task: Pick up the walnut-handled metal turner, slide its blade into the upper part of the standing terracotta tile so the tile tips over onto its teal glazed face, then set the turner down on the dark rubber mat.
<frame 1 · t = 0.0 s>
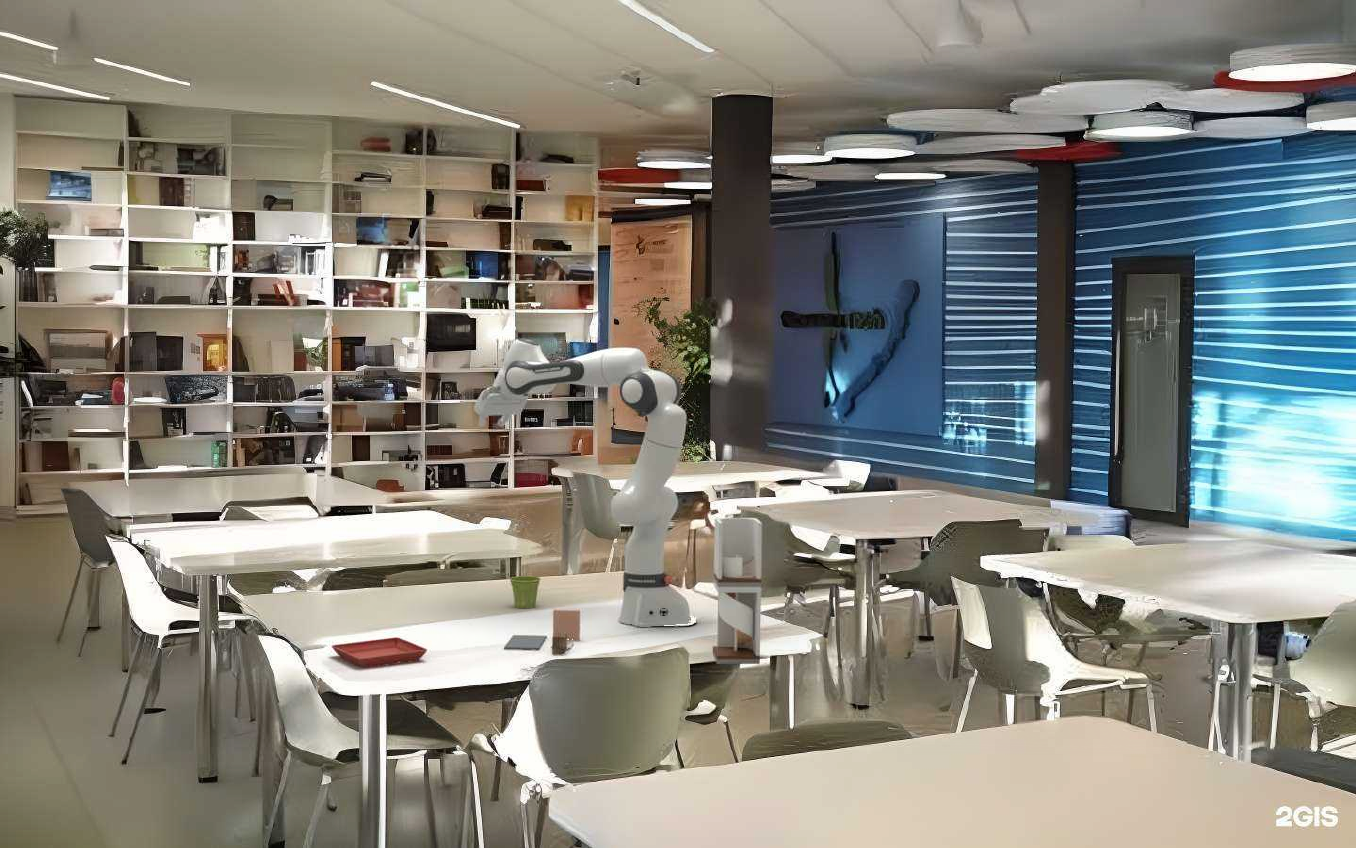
hand: (490, 425, 421), 54 cm above the table, tool tilted 30°, fingers open, 8 cm apart
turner: (559, 652, 352), on the table
mat: (525, 643, 361), on the table
tile: (566, 639, 368), on the table
plant saucer: (379, 661, 341), on the table
display case: (735, 659, 346), on the table
plant pot: (525, 607, 416), on the table
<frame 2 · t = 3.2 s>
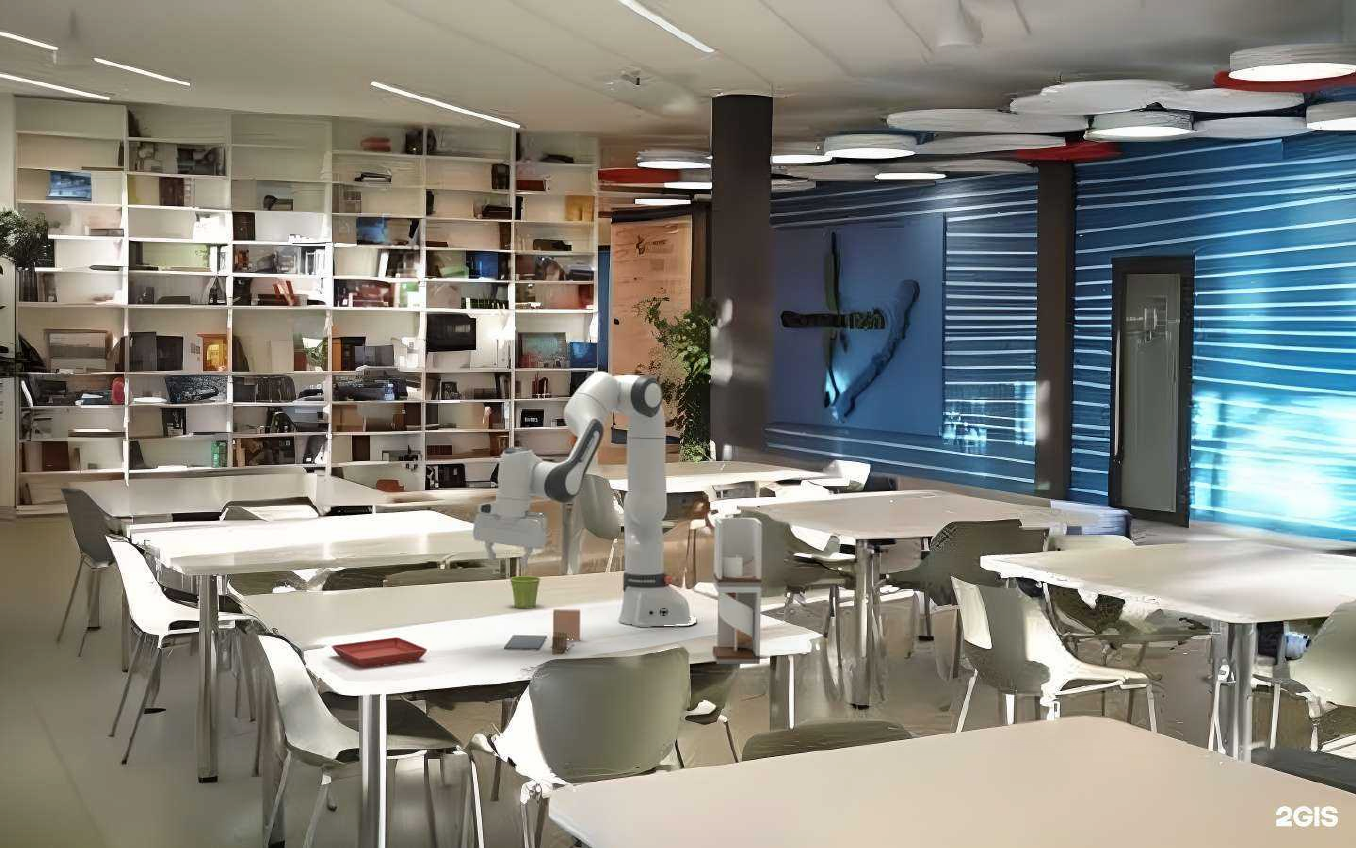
hand: (507, 562, 357), 22 cm above the table, tool pointing down, fingers open, 8 cm apart
nothing on the table moved.
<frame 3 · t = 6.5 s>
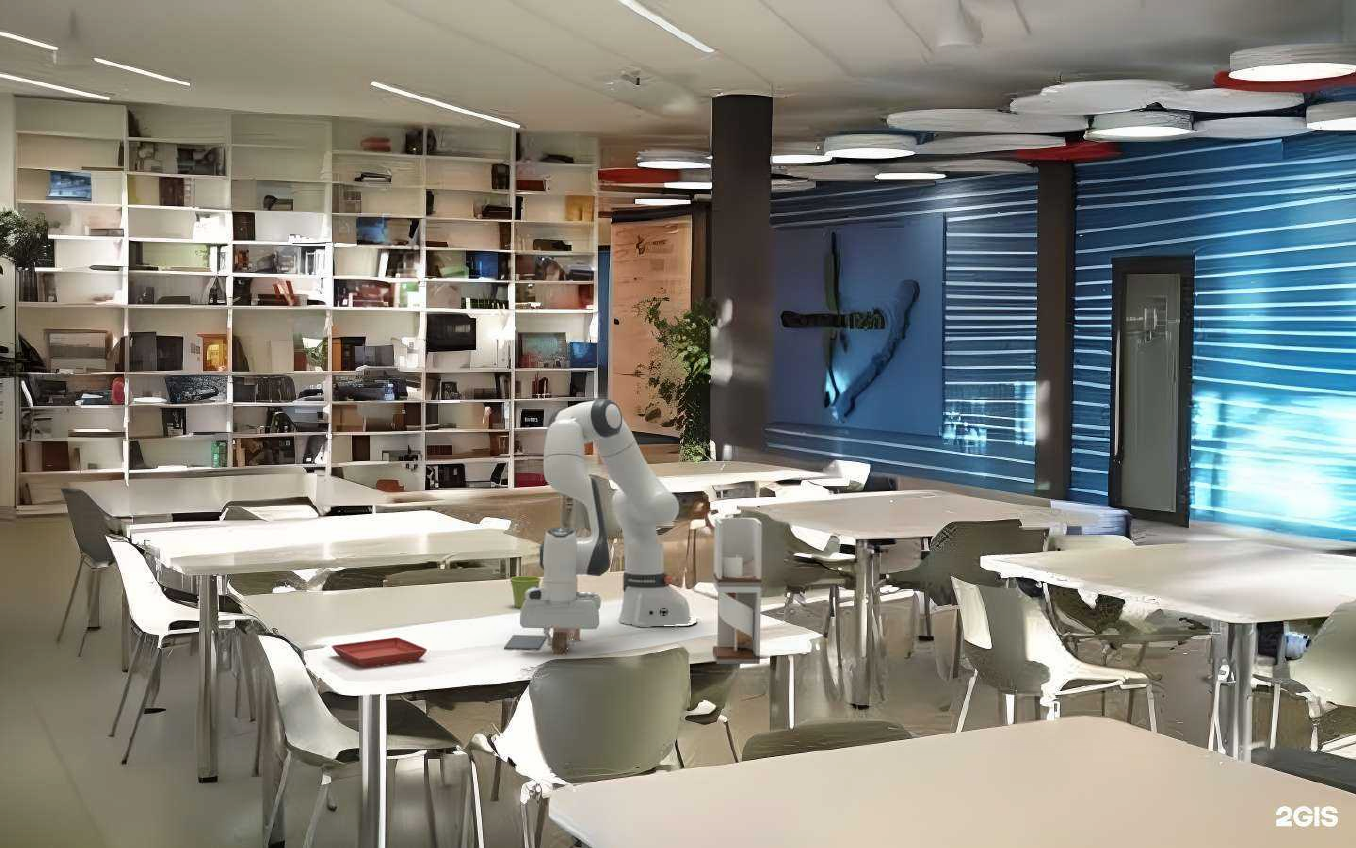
hand: (559, 645, 352), 2 cm above the table, tool pointing down, fingers closed on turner, 3 cm apart
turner: (559, 652, 352), on the table, touching gripper
everything else where it was.
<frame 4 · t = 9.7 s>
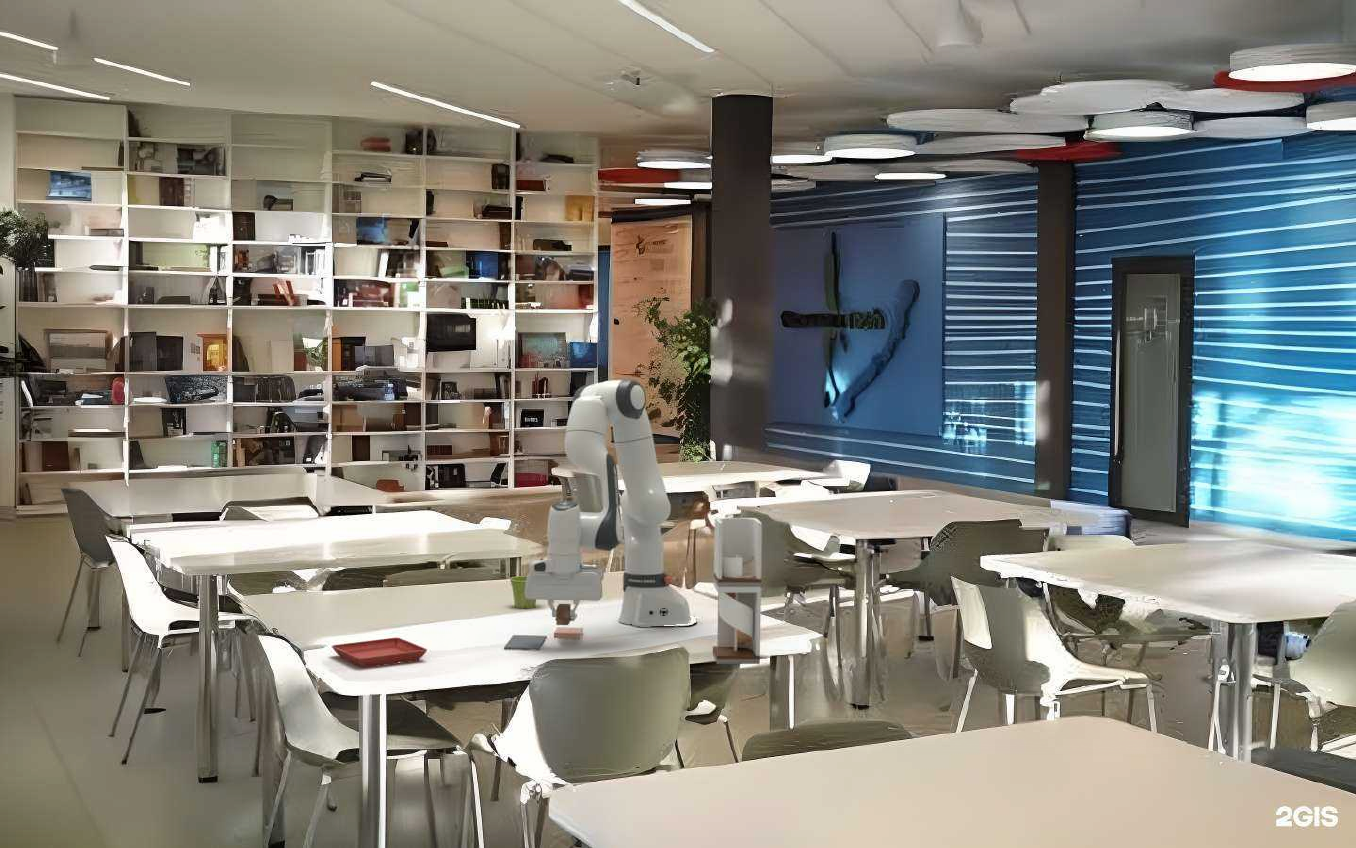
hand: (563, 616, 359), 8 cm above the table, tool pointing down, fingers closed on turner, 3 cm apart
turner: (563, 623, 359), point 6 cm above the table, touching gripper
tile: (566, 636, 369), point 1 cm above the table, tilted 90°
everything else where it was.
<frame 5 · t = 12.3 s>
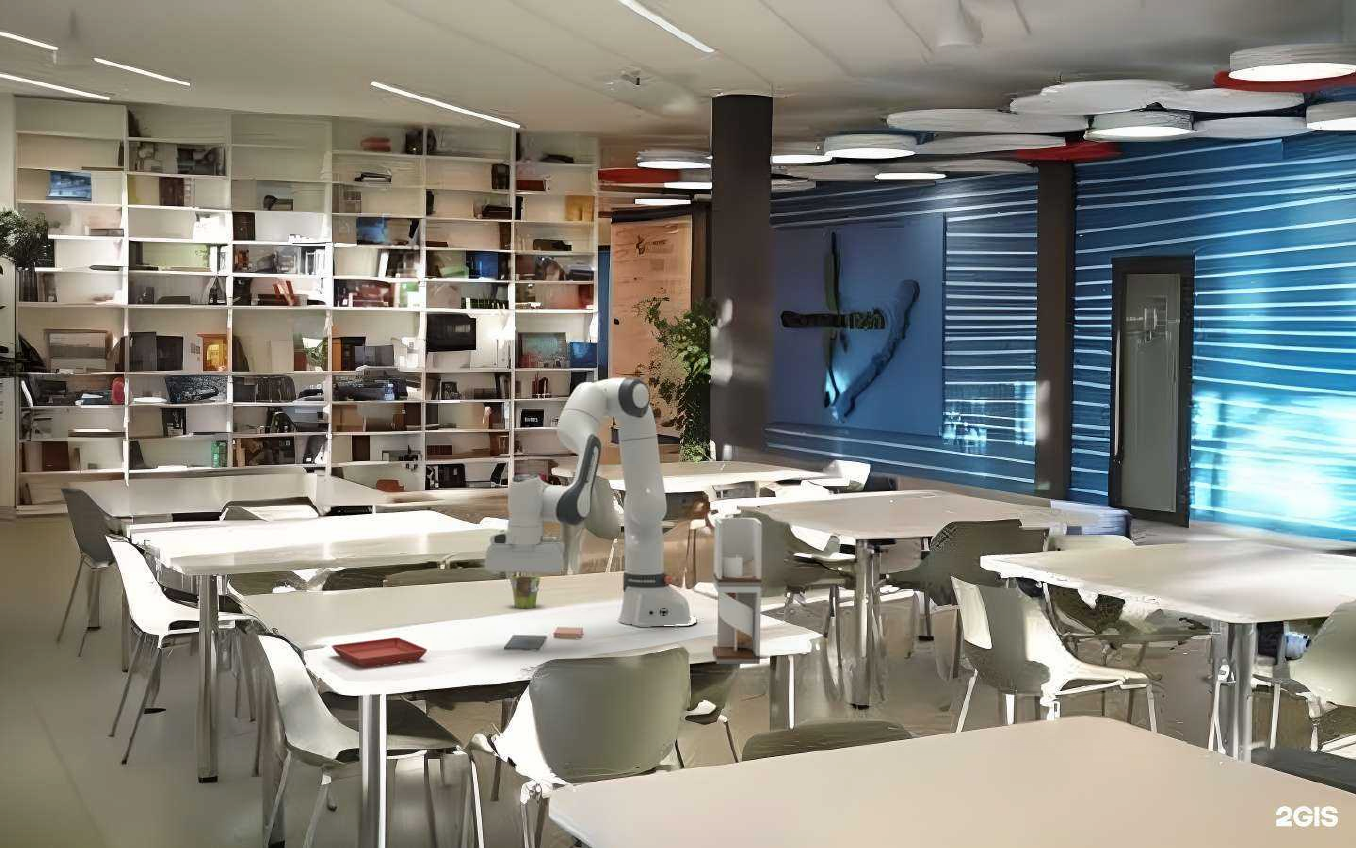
hand: (523, 589, 357), 15 cm above the table, tool pointing down, fingers closed on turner, 3 cm apart
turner: (523, 595, 357), point 13 cm above the table, touching gripper
everything else where it was.
when the fingers open (4 cm above the table, at t = 14.4 s): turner drops 2 cm, resting on mat.
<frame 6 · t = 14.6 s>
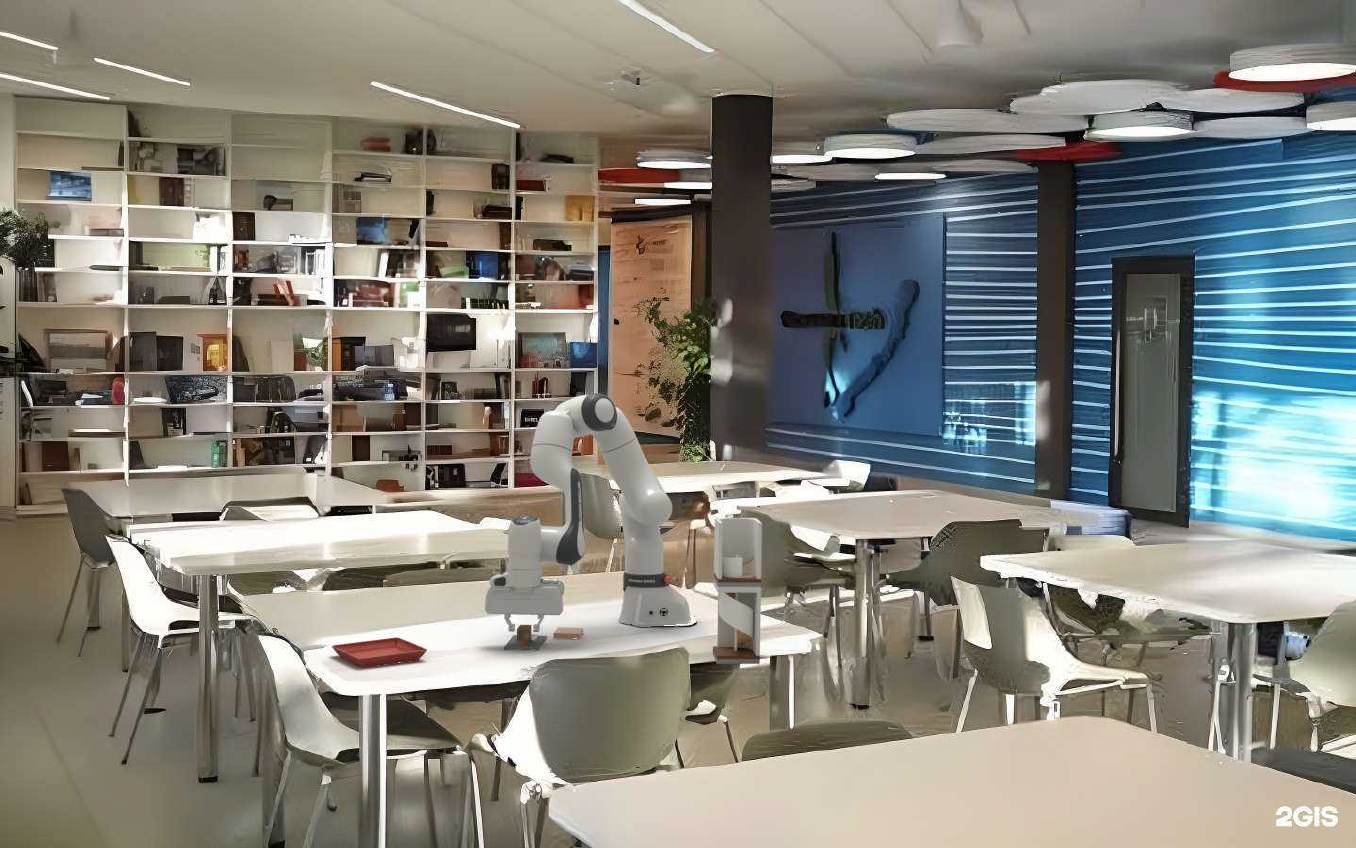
hand: (524, 631, 358), 4 cm above the table, tool pointing down, fingers open, 5 cm apart
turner: (524, 644, 358), point 1 cm above the table, touching mat
everything else where it was.
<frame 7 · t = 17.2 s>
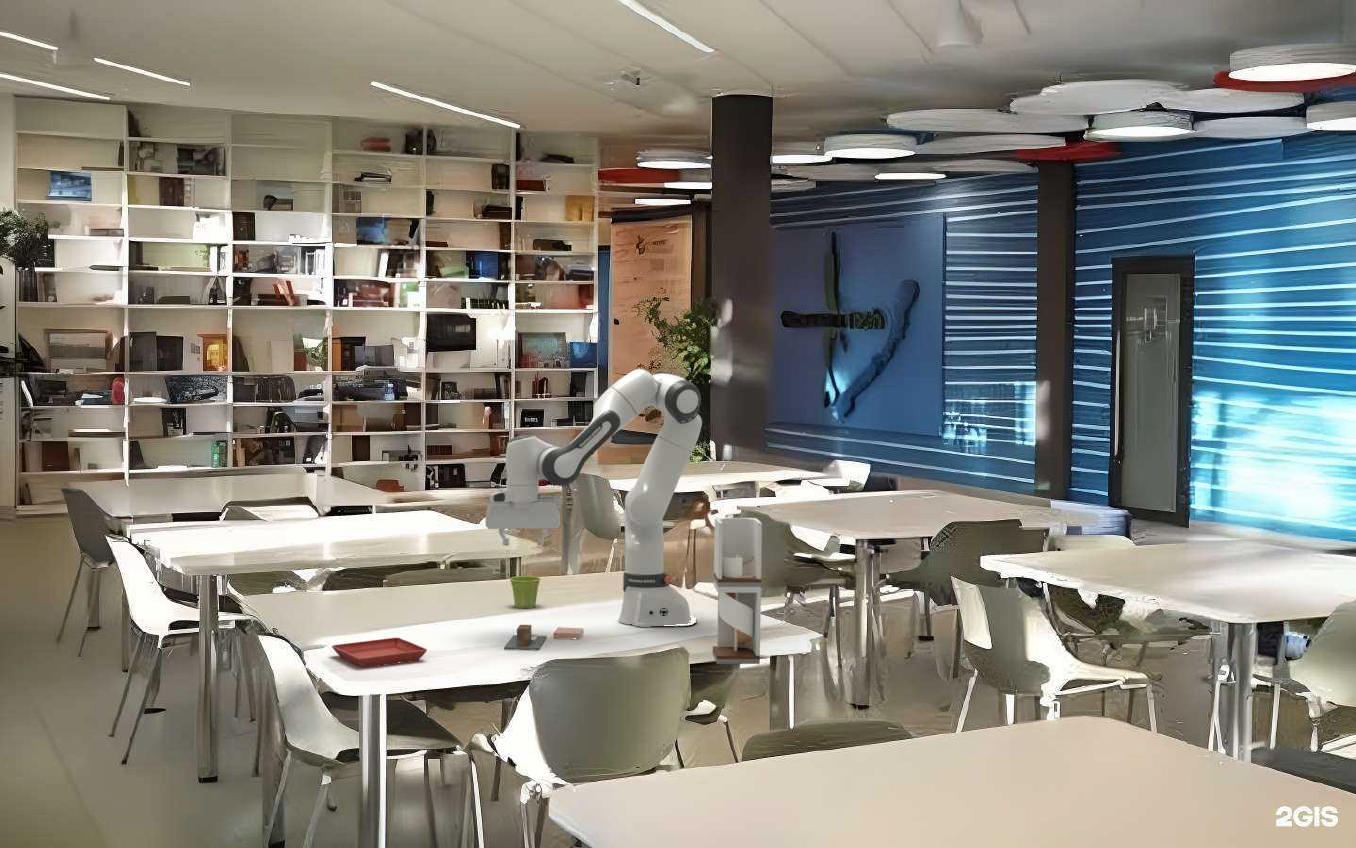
hand: (523, 545, 376), 24 cm above the table, tool pointing down, fingers open, 8 cm apart
nothing on the table moved.
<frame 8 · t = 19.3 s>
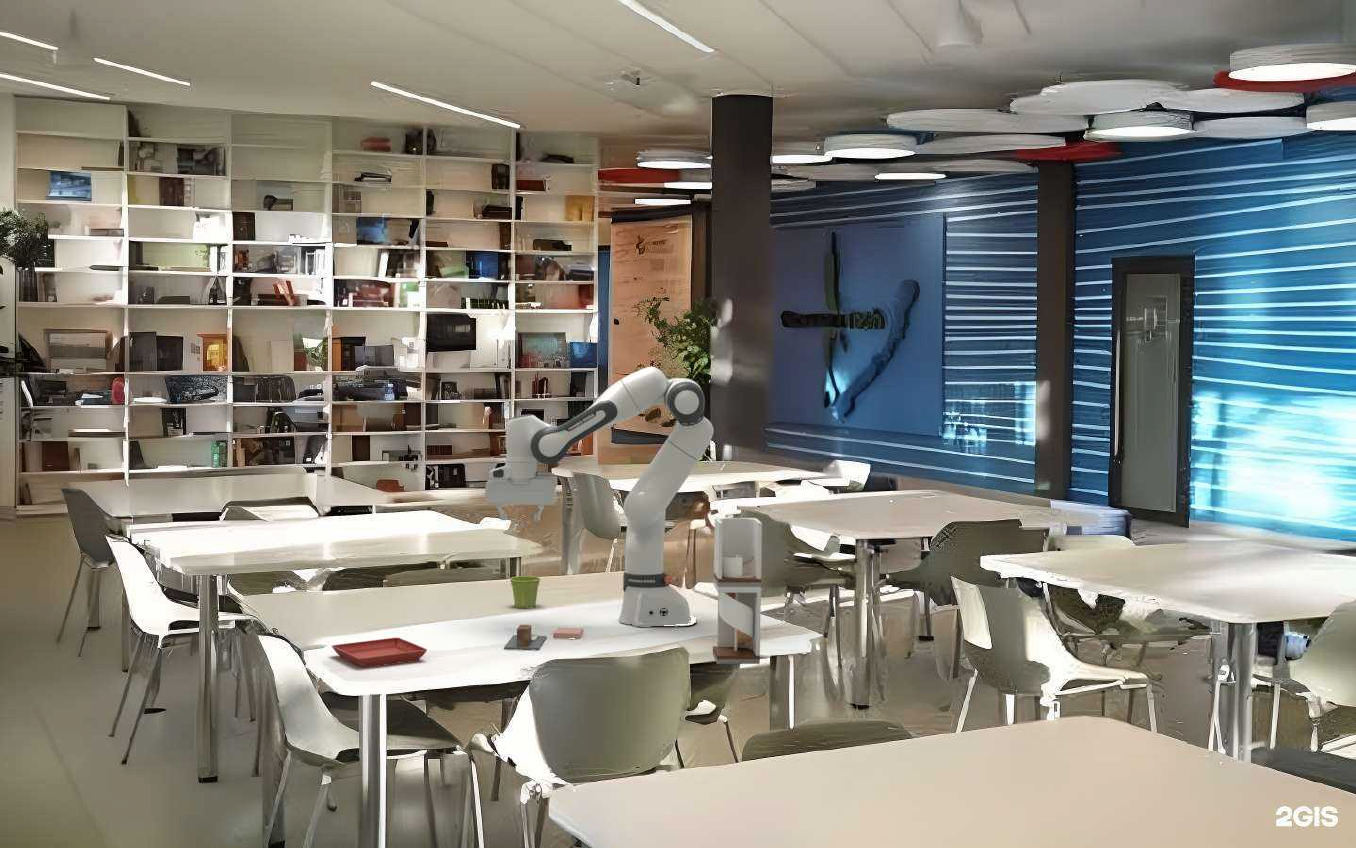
hand: (520, 520, 390), 29 cm above the table, tool pointing down, fingers open, 8 cm apart
nothing on the table moved.
at the end: tile tilted 90°; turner inside the target area (0.0 cm from its centre), point 0.6 cm above the table; the gripper is holding nothing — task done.
